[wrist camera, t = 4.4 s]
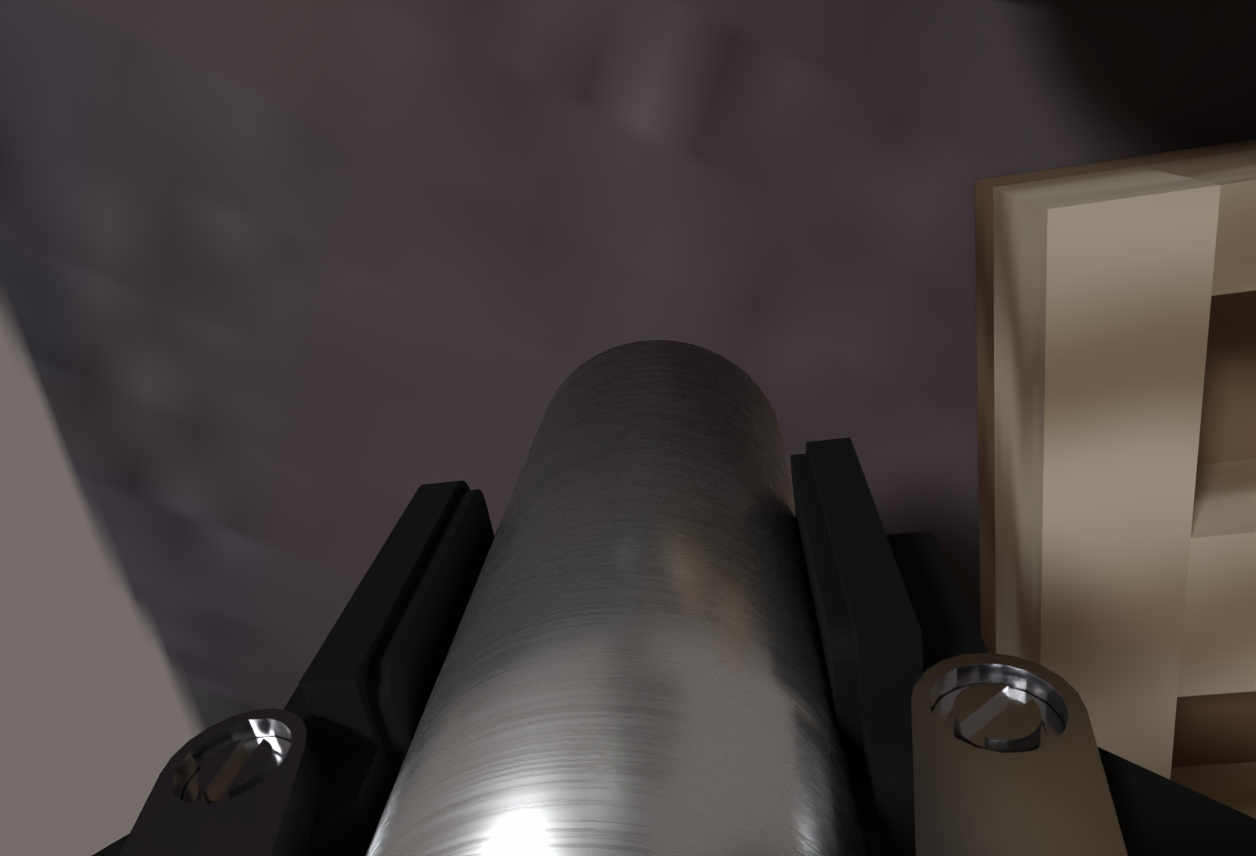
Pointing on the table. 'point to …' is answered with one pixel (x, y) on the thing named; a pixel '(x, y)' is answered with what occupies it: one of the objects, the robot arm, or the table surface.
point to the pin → (636, 642)
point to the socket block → (1126, 449)
